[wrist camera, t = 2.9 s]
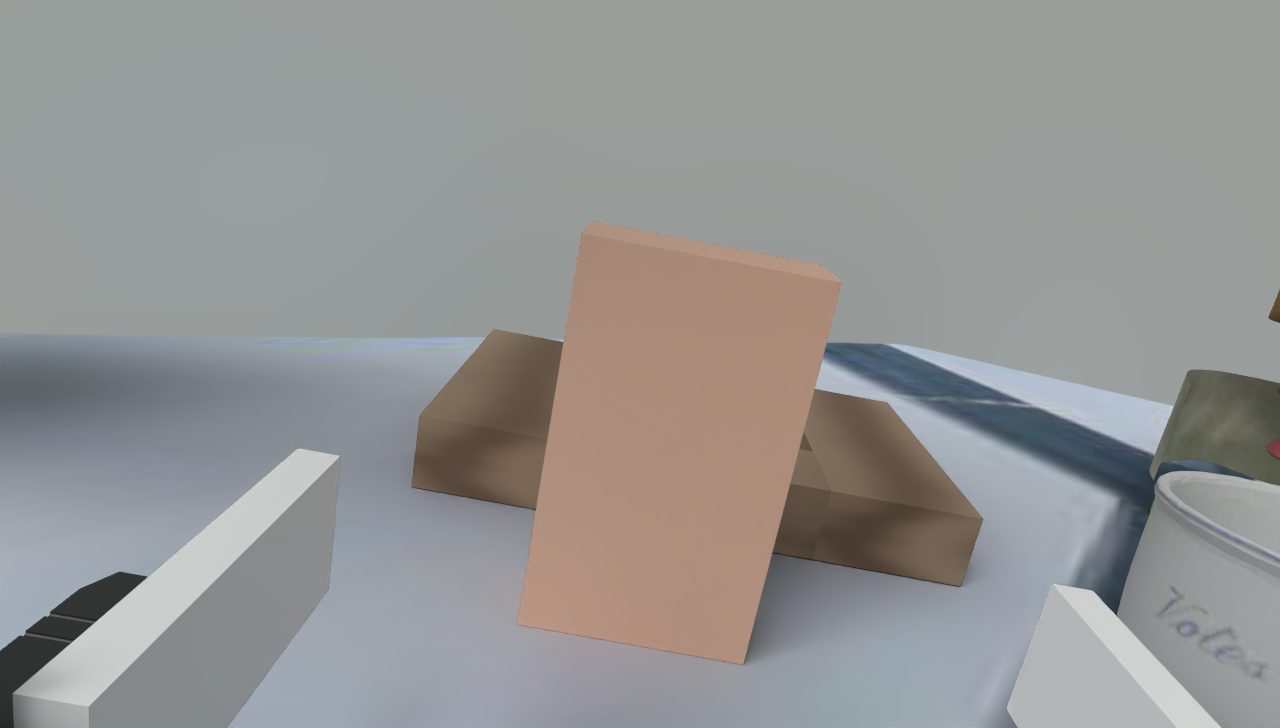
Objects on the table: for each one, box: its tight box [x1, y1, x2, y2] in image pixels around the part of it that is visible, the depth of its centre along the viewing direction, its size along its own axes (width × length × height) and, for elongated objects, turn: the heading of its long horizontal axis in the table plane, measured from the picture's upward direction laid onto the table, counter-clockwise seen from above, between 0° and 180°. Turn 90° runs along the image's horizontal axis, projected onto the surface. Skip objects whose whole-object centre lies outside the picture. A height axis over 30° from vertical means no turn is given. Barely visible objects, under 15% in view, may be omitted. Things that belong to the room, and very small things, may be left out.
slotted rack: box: [411, 329, 983, 586], centre depth 38 cm, size 22×14×3 cm, turn 89°
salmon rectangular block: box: [517, 221, 842, 665], centre depth 25 cm, size 7×3×12 cm, turn 89°
